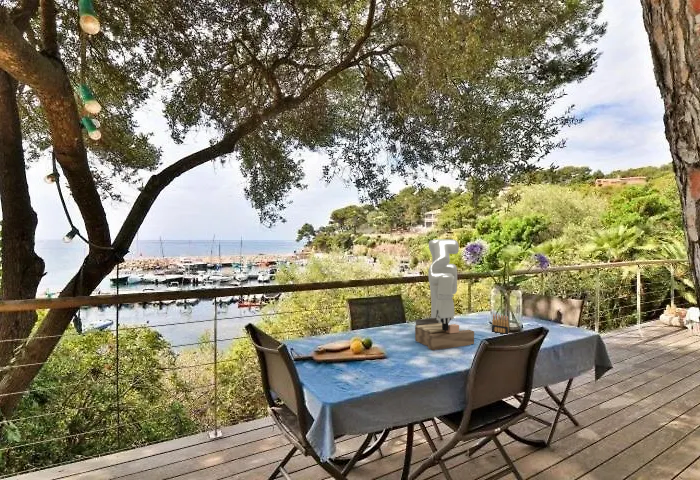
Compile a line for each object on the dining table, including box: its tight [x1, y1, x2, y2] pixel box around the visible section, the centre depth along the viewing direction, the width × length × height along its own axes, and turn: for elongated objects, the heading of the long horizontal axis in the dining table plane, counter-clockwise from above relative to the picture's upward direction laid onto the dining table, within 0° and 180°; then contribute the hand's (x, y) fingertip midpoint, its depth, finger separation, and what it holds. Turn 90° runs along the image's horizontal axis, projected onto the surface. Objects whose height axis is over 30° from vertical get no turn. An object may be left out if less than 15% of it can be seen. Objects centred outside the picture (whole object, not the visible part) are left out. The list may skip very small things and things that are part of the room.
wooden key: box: [446, 323, 460, 334], centre depth 243 cm, size 4×6×4 cm, turn 114°
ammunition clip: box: [491, 313, 510, 336], centre depth 271 cm, size 11×2×12 cm, turn 45°
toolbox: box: [414, 326, 475, 351], centre depth 250 cm, size 21×28×8 cm
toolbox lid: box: [414, 317, 444, 333], centre depth 251 cm, size 16×16×4 cm
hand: (445, 330), depth 241 cm, fingers closed
